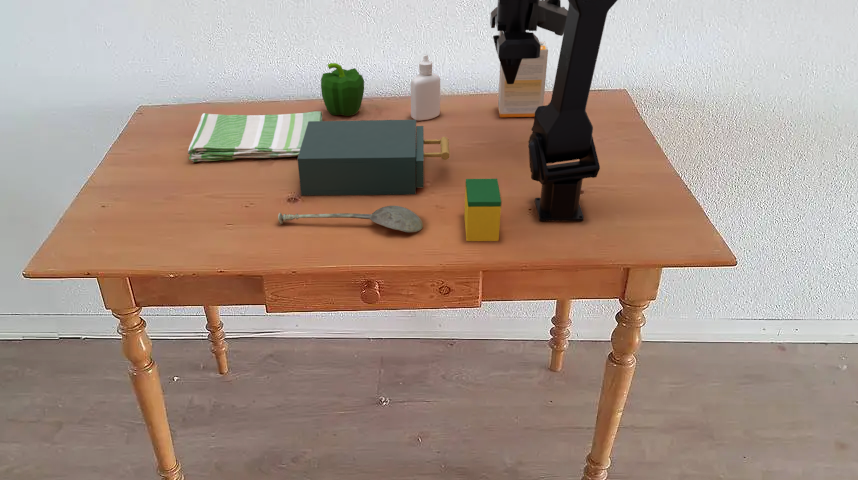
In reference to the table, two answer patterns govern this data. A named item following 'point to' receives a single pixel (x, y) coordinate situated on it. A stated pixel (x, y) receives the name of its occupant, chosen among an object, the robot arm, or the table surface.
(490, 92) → the table surface
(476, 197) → the sponge
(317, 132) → the cabinet
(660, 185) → the table surface
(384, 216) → the soupspoon
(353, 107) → the bell pepper
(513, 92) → the supplement box
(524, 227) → the table surface
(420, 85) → the eye dropper bottle
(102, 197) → the table surface
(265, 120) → the dish towel
